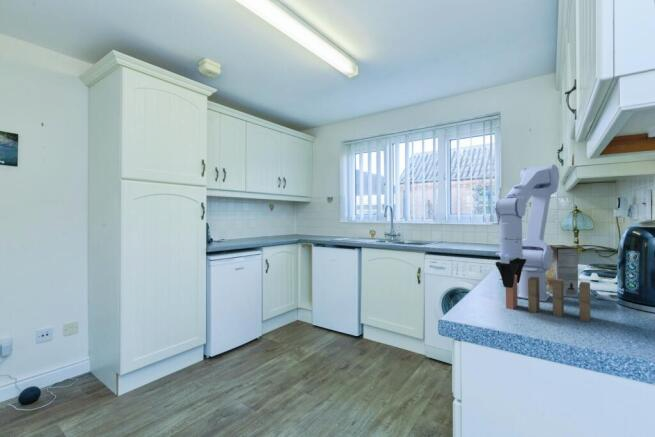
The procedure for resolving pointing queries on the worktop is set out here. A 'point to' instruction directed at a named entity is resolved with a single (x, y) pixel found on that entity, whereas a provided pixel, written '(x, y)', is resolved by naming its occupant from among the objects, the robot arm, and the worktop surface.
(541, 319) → the worktop surface
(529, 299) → the domino
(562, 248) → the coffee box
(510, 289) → the domino
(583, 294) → the domino
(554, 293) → the domino
